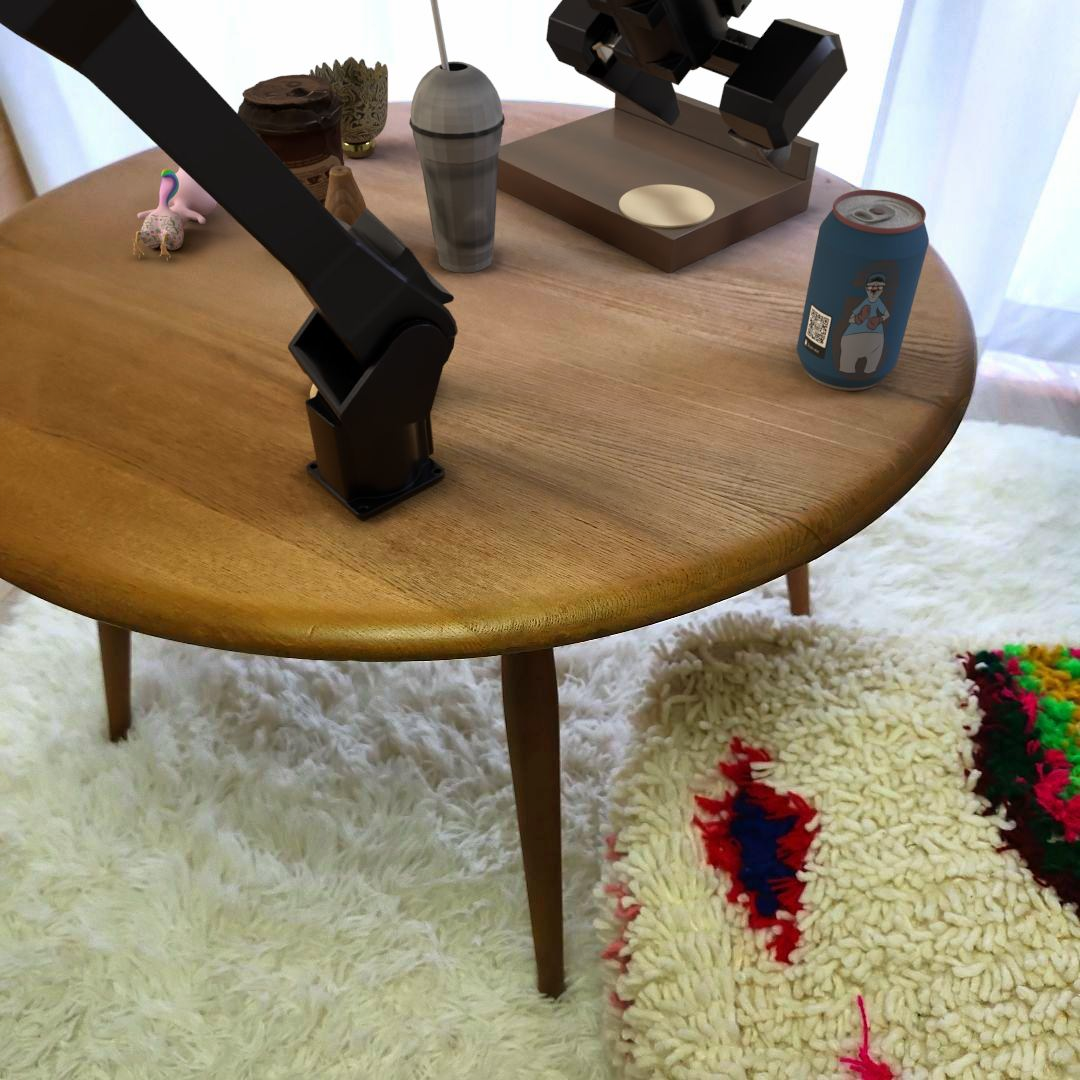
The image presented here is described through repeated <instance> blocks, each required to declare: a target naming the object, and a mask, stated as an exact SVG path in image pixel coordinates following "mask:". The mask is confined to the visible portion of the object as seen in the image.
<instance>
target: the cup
mask: <svg viewBox="0 0 1080 1080" xmlns="http://www.w3.org/2000/svg"><path fill="white" fill-rule="evenodd" d="M388 69H389V68H388V66H387V64H386V63H384V64H382V63H381V62H380V61H379V60H377V61H376V62H375V64H374V68H373V67H372V66H371V67H367V65H366V61H365V59H364V58H361V59H360V60H359V61H357V60H356V59H355V58H354V56H349V57H348V58H347V59H346V60H344V62H343V63H342V64H341V62H339V60H338V59H337V58H334V61H333V63H332V68H331V66H329V65H328V63H327V62H324V61H323V62H322V63H321V66H319V65H318V64H316V65H315V67H314V70H313V69H311V68H310V70H309V73H308V75H312V76H321V77H326V78H328V80H329V81H331V88H332V91H334V92H336V93H337V94H338V95H339V96H340V97H341V99H342V101H344V105H343V106H344V107H343V114H342V118H341V138H342V149H343V156H346V157H348V158H353V159H360V158H361V159H362V158H366V157H369V156H371V155H372V154H374V153H375V152H376V149H377V144H378V142H377V140H376V138H377V137H378V136H380V135H381V134H382V132H383V130H384V128H385V127H386V124H387V119H388V109H389V70H388Z"/></svg>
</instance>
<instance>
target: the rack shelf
mask: <svg viewBox="0 0 1080 1080" xmlns="http://www.w3.org/2000/svg"><path fill="white" fill-rule="evenodd" d="M675 93H676V96H677V100H678V104H679V108H680V112H681V113H680V116H679V117H678V119H677V120H676V121H675V123H674V124H673V125H668V124H666V123H664V122H662V121H661V120H659V119H657V118H656V117H654V116H652V115H651V114H649V113H647V112H646V111H644V110H642V109H641V108H639V107H637V106H636V105H634V104H632V103H631V102H629V101H627V100H625V99H624V98H622V97H620V96H619V95H617V94H615V93H614V107H612V108H609V109H606V110H602V111H600V112H596V113H594V114H591V115H588V116H585V117H582V118H579V119H576V120H573V121H570V122H567V123H564V124H561V125H559V126H558V125H557V126H556V127H552V128H550V129H547V130H543V131H541V132H537V133H535V134H532V135H528V136H526V137H523V138H520V139H517V140H514V141H512V142H509V143H505V144H502V145H500V149H499V152H498V173H497V190H501V191H502V192H504V193H506V194H508V195H510V196H513V197H514V198H517V199H518V200H521V201H524V202H525V203H526V204H529V205H531V206H533V207H535V208H537V209H539V210H541V211H543V212H545V213H547V214H549V215H551V216H552V217H555V218H557V219H560V220H561V221H564V223H565V222H566V223H567V224H569V225H571V226H573V227H575V228H577V229H578V230H579V229H580V230H581V231H584V232H585V233H588V234H589V235H591V236H593V237H595V238H597V239H599V240H602V241H604V242H605V243H608V244H610V245H612V246H614V247H615V248H618V249H620V250H622V251H624V252H626V253H628V254H630V255H632V256H634V257H636V258H638V259H640V260H642V261H644V262H646V263H648V264H650V265H652V266H653V267H656V268H658V269H660V270H662V271H663V272H666V273H669V274H671V273H673V272H675V271H678V270H680V269H682V268H685V267H686V266H688V265H691V264H693V263H695V262H697V261H699V260H702V259H704V258H706V257H709V256H710V255H712V254H714V253H717V252H718V251H719V252H720V251H721V250H723V249H724V248H728V247H729V246H731V245H734V244H736V243H738V242H740V241H742V240H744V239H746V238H749V237H751V236H753V235H755V234H758V233H759V232H762V231H764V230H766V229H768V228H770V227H773V226H774V225H777V224H779V223H781V222H783V221H786V220H788V219H790V218H792V217H794V216H796V215H798V214H801V213H804V211H807V210H808V208H809V203H810V198H811V192H812V186H813V180H814V177H815V176H814V175H815V169H816V165H817V158H818V153H819V147H820V143H819V142H816V141H814V140H811V139H808V138H806V137H803V136H799V135H797V136H796V137H795V138H794V140H793V141H792V145H791V151H790V157H789V160H788V161H787V163H786V164H785V165H784V166H783V168H782V169H781V170H780V171H776V170H774V169H772V168H771V167H769V166H768V165H766V164H765V163H764V162H762V161H761V160H760V159H759V158H757V157H756V156H755V155H754V154H752V153H751V152H750V151H748V150H747V149H746V148H745V147H743V146H742V145H741V144H739V143H738V142H737V141H736V140H734V139H733V138H732V137H731V136H729V135H728V131H729V130H730V129H731V128H730V127H729V126H728V125H727V124H726V123H725V122H724V120H723V118H722V116H721V113H720V111H719V106H716V105H713V104H710V103H708V102H704V101H702V100H699V99H696V98H693V97H691V96H688V95H686V94H682V93H680V92H676V91H675Z"/></svg>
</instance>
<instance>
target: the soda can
mask: <svg viewBox="0 0 1080 1080" xmlns="http://www.w3.org/2000/svg"><path fill="white" fill-rule="evenodd" d="M926 217H927V212H926V209H925V208H924V206H923V205H922V204H921V203H920V202H918V201H916V199H913V198H911V197H910V196H907V195H904V194H901V193H898V192H893V191H888V190H881V189H857V190H853V191H852V190H851V191H848V192H846V193H843V194H841V195H840V196H838V197H837V198H836V199H835V200H834V202H833V204H832V208H831V210H830V212H829V213H828V214H827V216H826V217H825V218H824V219H823V220H822V222H821V223H820V226H819V227H818V228H819V229H818V233H817V239H816V242H815V243H816V244H815V250H814V253H813V254H814V255H813V259H812V265H811V270H810V276H809V281H808V286H807V290H806V296H805V301H804V306H803V311H802V318H801V323H800V328H799V333H798V338H797V343H796V352H797V356H798V359H799V360H800V363H801V365H802V367H803V369H804V372H805V373H806V374H807V375H808V377H809V378H811V380H813V381H815V382H816V383H818V384H819V385H822V386H825V387H828V388H830V389H835V390H839V391H848V392H849V391H862V390H867V389H870V388H872V387H875V386H876V385H878V384H879V383H880V382H881V381H882V380H884V379H885V378H886V377H887V376H888V375H889V374H890V373H891V372H892V371H893V370H894V369H895V367H896V366H897V364H898V360H899V356H900V352H901V349H902V345H903V343H904V337H905V334H906V330H907V326H908V322H909V319H910V315H911V312H912V308H913V304H914V300H915V297H916V293H917V288H918V285H919V281H920V278H921V274H922V270H923V266H924V262H925V259H926V254H927V251H928V247H929V244H930V238H929V234H928V230H927V226H926V223H925V220H926Z"/></svg>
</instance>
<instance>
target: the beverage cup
mask: <svg viewBox="0 0 1080 1080" xmlns="http://www.w3.org/2000/svg"><path fill="white" fill-rule="evenodd" d="M429 1H430V6H431V12H432V17H433V23H434V29H435V35H436V41H437V46H438V51H439V59H440V64H438V65H436V66H434V67H433V68H431V69H430V70H429V71H428V72H426V74H424V76H423V77H422V78H421V79H420V81H419V83H417V86H416V88H415V91H414V93H413V96H412V100H411V104H410V105H411V107H410V117H409V121H408V122H409V123H408V124H409V126H410V128H411V130H412V135H413V139H414V142H415V143H414V144H415V146H416V149H417V152H418V154H419V161H420V165H421V171H422V176H423V182H424V188H425V194H426V200H427V206H428V212H429V218H430V223H431V224H430V225H431V231H432V235H433V240H434V241H433V242H434V245H435V249H436V253H437V255H438V263H439V265H440V267H442V268H443V269H445V270H447V271H450V272H453V273H458V274H459V273H460V274H461V273H462V274H468V273H475V272H479V271H481V270H482V271H483V270H484V269H487V268H488V267H489V266H491V264H492V263H493V260H494V259H493V253H494V244H495V236H496V235H495V234H496V215H497V213H496V211H497V195H498V193H497V191H498V188H497V173H498V152H499V149H500V146H501V144H502V137H503V136H502V135H503V130H504V129H503V128H504V125H505V122H506V121H505V120H506V118H505V114H504V112H503V106H502V105H503V104H502V101H501V98H500V95H499V92H498V91H497V89H496V87H495V85H494V84H493V82H492V81H491V79H490V78H489V77H488V76H487V75H486V74H485V72H483V71H482V70H481V69H479V68H478V67H476V66H474V65H472V64H470V63H467V62H463V61H448V60H449V59H448V54H447V49H446V43H445V38H444V37H445V36H444V31H443V25H442V20H441V14H440V9H439V8H440V7H439V2H438V0H429Z"/></svg>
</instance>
